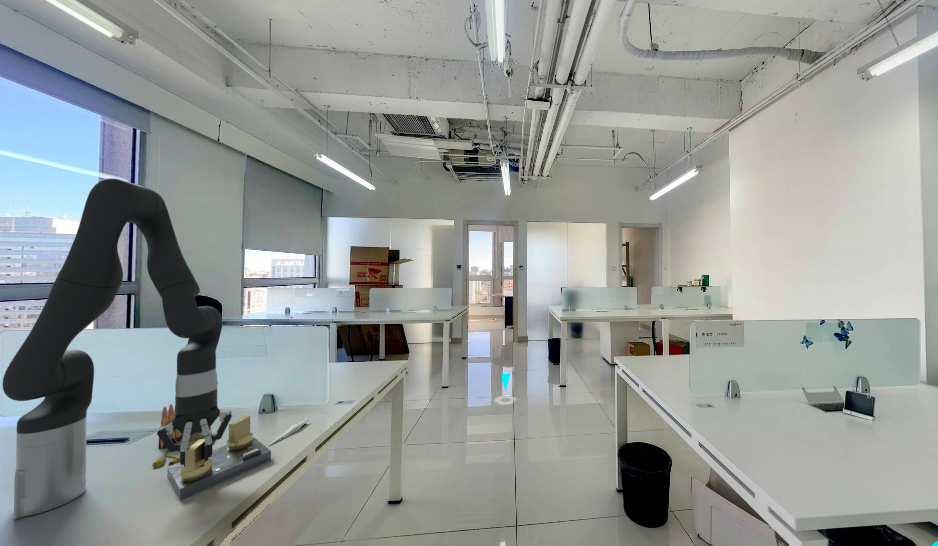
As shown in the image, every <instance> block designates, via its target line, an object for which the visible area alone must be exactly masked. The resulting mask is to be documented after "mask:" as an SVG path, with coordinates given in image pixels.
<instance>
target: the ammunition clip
mask: <svg viewBox="0 0 938 546" xmlns="http://www.w3.org/2000/svg"><path fill="white" fill-rule="evenodd" d="M174 418H175V407H174V405H173V404H172V403H170V404H169V406H168V409H167V406H166V405H165V406H163V409H162V412H161V421H160V427H162V426H166V425H168V424H170V423H172V422H173V420H174ZM172 429H173V431H172V433H171V434H172V436H173V437H174V438H175V440H176V441H177V443H178V442H180V441H182V438H183V433H181V432H180V431H179V430H177V429H176V428H175V427H173V428H172ZM158 449H167V447H166V446H165V445H164V443H163V442H162V440H161V439H160V438H159V437H158Z"/></svg>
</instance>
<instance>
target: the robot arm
mask: <svg viewBox="0 0 938 546" xmlns="http://www.w3.org/2000/svg"><path fill="white" fill-rule="evenodd" d="M127 223H130V224H134V225H135V226H136V227H137V229H138V230H139V231H140V232H141V234H142V236H143V238H144V239H145V241H146V245H147V246H146V247H147V260H146V268H147V274H148V276H149V278H150V280H151V282H152V284H153V286H154V287H155V289H156V291H157V293H158V294H159V296H160V297H161V298H160V299H161V303H162V309H163V315H164V320H165V323H166V324H165V325H166V326H167V328H168V329H169V330H170V332H171V333H172V334H174V335H175V336H177V337H179V338H182V339H188V340H187V344H186V345H185V346H184V347H183V348H181V349H180V350H179V351H178V352H177V355H176V378H175V385H174V391H175V392H174V393H175V395H174V398H175V399H174V408H175V418H174V420H173V422H172V423H170V424H168V425H166V426H162V427H161V426H160V427H159V429H158V430H157V432H156V435H157V437H158V439H159V438H160V439H161V440H162V442H163V443H164V445H165V446H166V450H167V449H168V452H170V453H172V452H179V456H180V464H181V465H184V467H185V451H186V450H187V449H188V448H189V447H190V446H189V443H190V441H189V440H191V439H190V438H191V436H192V435H195V434H198V433H202V435H203V436H204V437H203V436H202V437H203V439H205V446H204V461H207V460H208V459H209V457H211V456H212V450H213V444H214V443H215V442H216V441H218V440H221V439H222V437H223V435H224V434H225V431H226V429H227V428H228V426H229V424H230V421H231V419H232V417H233V415H232V411H230V410H229V411H227V412H226V411H221V410H220V408H219V406H218V385H219V382H218V372H217V352H216V351H217V347H218V345H219V341H220V337H221V334H222V329H223V318H222V314H221V313H220V311H219V310H218V309H217V308H215V307H213V306H209V305H204V306H202V305H201V306H198V305H197V301H196V297H197V296H198V295H199V294H200V292H201V289H200V286H199V284H198V282H197V280H196V278H195V276H194V274H193V273H192V271H191V269H190V267H189V265H188V264H187V261H186V259H185V257H184V255H183V253H182V251H181V248H180V245H179V243H178V239H177V236H176V233H175V229H174V226H173V223H172V221H171V217H170V213H169V211H168V207H167V205H166V202H165V200H164V198H163V197H162V196H161V194H159V193H158V191H157V192H156V191H155V190H153V189H151V188H148V187H146V186H142V185H139V184H136V183H134V182H130V181H126V180H124V179H120V178H116V177H115V178H112V177H111V178H104V179H102V180H100V181H99V182H96V183H95V184H94V186H93V187H92V188H91V190H90V191H89V193H88V195H87V198H86V200H85V204H84V208H83V210H82V214H81V218H80V222H79V225H78V228H77V231H76V235H75V237H74V239H73V241H72V244H71V247H70V250H69V252H68V254H67V256H66V258H65V260H64V263H63V265H62V267H61V269H60V271H59V272H58V274H57V276H56V277H55V279H54V282H53V285H52V287H51V289H50V291H49V294H48V297H47V299H46V301H45V303H44V306H43V307H42V309H41V311H40V314H39V315H38V318H37V319H36V321H35V323H34V325H33V327H31V330H30V331H29V333H28V335H27V337H26V339H25V340H24V341H23V342H22V344H21V346H20V347H19V349H18V350H17V352H16V353H15V355H14V357H13V358H12V359H11V361H10V363H9V364H8V366H7V368H6V369H5V372H4V375H3V379H2V390H3V393H4V395H5V396H6V397H7V398H8V399H10V400H13V401H15V402H16V401H17V402H27V401H28V402H29V401H32V400H34V401H35V400H38V399H42V398H43V400H42V401H41V402H40V403H39V404H38V405H37V406H36V407H33V409H32V410H29V411H28V412H27V413H25V414H23V415H22V416H21V417H19V419H18V421H16V422H17V423H16V445H15V446H16V451H15V453H16V454H15V455H16V456H15V460H16V461H15V470H14V471H15V472H14V479H13V480H14V481H13V482H14V484H13V485H14V488H13V491H14V494H13V498H14V499H13V520H17V519H21V518H24V517H29V516H34V515H37V514H38V515H39V514H41V513H46V512H47V511H51V510H53V508H54V509H56V508H58V507H60V506H64V505H65V504H68V503H70V502H72V501H73V500H75V499H77V498H78V497H79V496H81V495H82V494H84V493H85V491H86V488H87V415H88V414H87V413H88V409H89V407H90V405H91V403H92V400H93V399H92V398H93V391H94V389H93V388H94V378H95V365H94V362H93V358H92V357H91V356H90V355H89V353H87V352H85V351H83V350H80V349H68V347H69V346H70V345H71V343H72V342H73V340H74V339H75V338H76V337H77V336H78V335H79V334H80V333H81V332H82V331H83V330H85V329H86V328H87V327H88V326H89V325H91V324H92V323H93V322H95V321H96V320H97V319H98V318H99V317H100V316H102V314H104V313H105V312H106V311H107V310H108V309H109V308H110V307H111V306H112V304H113V302H114V300H116V296H117V294H118V292H119V289H120V288H121V285H122V282H123V279H124V271H123V267H122V262H121V259H120V255H119V251H118V244H119V240H120V236H121V234H122V232H123V230H124V228H125V227H126V224H127ZM217 418H219V422H220V425H219V427H218V428H217V431H216V433H214V434H213V432H212V426H213V424H214V423H215V422H216V420H217ZM173 427H175V428H176V429H177V430H179V431H180V432H181V433H183V438H182V440H181V441H182V442H181V443H178V442H177V441H176V440H175V438H174V437H173V436H172V434H171V433H172V431H173V429H172V428H173ZM214 441H215V442H214ZM213 442H214V443H213ZM212 443H213V444H212Z"/></svg>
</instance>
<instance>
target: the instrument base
mask: <svg viewBox="0 0 938 546" xmlns="http://www.w3.org/2000/svg"><path fill="white" fill-rule="evenodd" d="M209 459H211V460H212V471H211V472H210V473H209V474H207V475H206V476H204V477H202V478H200V479H197V480H194V481H190V482H182V481H181V480H180V474H181V469H182V468H183V467H184V465H181V464H180V462H179V463H177V464H174V465H171V466H167V479H168V481H169V482H170V484H171V486H172V488H173V491H174V492H175V494H176V496H177V498H178V500H179V501H182V500H184V499H186V498H188V497H192V496H194V495H196V494H197V493H200V492H202V491H204V490H207V489H209V488H212V487H214V486H216V485H218V484H220V483H223V482H225V481H228V480H229V479H232V478H234V477H236V476H239V475H241V474H244V473H246V472H248V471H249V470H252V468H253V469H255V468H256V467H260V466H262V465H263V463H264V464H266V463H268V462H270V461H269V460H271V461H272V450H270V449H269V448H268V447H267V446H265V445H264V444H263V443H261V442H260V441H259V440H258V439H256V438H255V437H254V436H253V435H252V443H251V444H250V445H249V446H247V447H245V448H242V449H239V450H234V451H230V450H227V444H226V445H224V446H221V447H218V448H216V449H212V456H211V457H209ZM267 461H268V462H267ZM265 462H266V463H265ZM261 464H262V465H261ZM254 467H255V468H254Z"/></svg>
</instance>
